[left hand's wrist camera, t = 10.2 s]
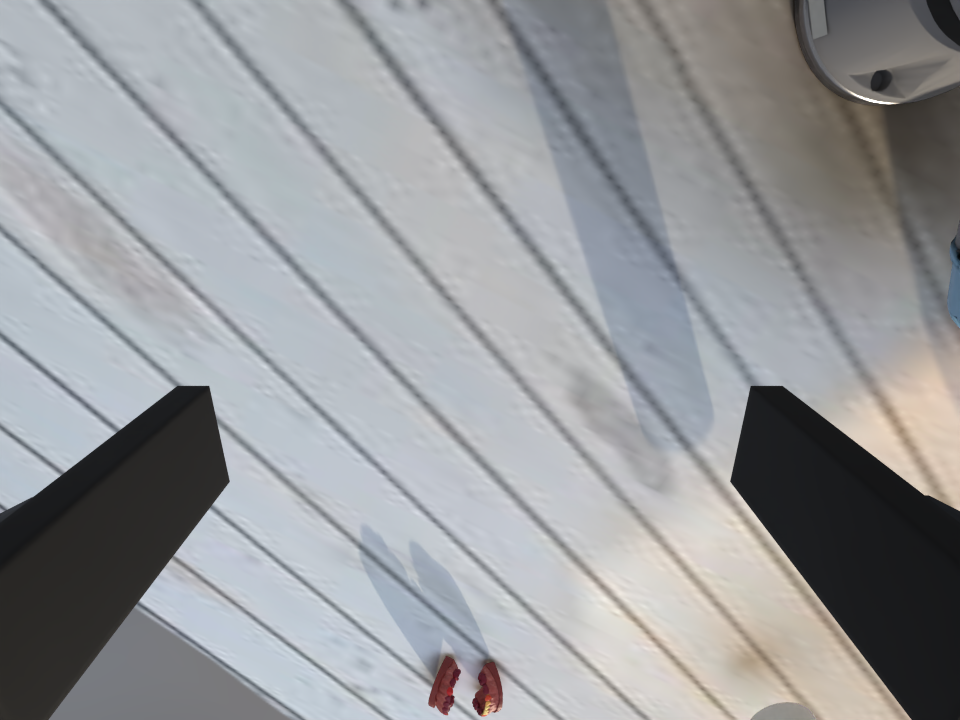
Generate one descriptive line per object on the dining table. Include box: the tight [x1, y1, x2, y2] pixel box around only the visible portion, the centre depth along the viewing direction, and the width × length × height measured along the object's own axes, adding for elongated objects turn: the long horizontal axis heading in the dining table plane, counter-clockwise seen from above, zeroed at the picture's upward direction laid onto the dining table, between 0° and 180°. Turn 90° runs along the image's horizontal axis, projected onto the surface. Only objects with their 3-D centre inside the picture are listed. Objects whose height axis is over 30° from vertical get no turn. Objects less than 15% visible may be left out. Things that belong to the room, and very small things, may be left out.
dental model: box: [428, 656, 503, 716], centre depth 57 cm, size 6×4×8 cm
